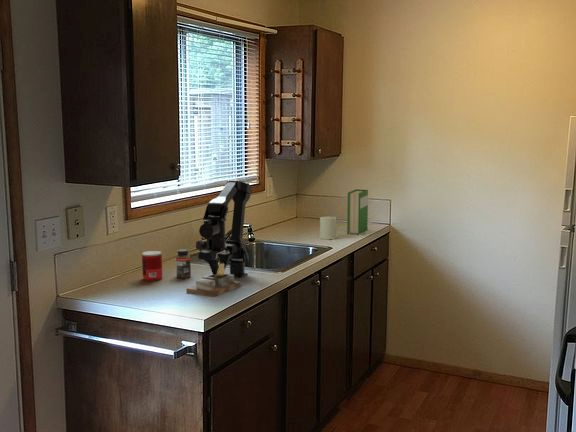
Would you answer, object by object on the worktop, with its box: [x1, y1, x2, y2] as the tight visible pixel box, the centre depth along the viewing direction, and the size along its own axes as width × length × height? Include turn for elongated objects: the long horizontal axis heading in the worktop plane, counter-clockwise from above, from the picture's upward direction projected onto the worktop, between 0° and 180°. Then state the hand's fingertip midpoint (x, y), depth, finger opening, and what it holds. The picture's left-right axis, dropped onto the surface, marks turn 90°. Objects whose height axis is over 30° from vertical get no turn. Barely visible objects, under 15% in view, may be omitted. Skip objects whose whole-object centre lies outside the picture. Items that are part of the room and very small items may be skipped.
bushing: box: [213, 261, 225, 278], centre depth 248 cm, size 4×4×8 cm
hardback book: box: [346, 188, 369, 235], centre depth 367 cm, size 18×7×24 cm, turn 159°
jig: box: [185, 272, 242, 298], centre depth 245 cm, size 18×13×4 cm
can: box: [319, 215, 337, 240], centre depth 349 cm, size 9×9×12 cm
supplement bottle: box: [175, 248, 192, 279], centre depth 264 cm, size 6×6×11 cm
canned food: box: [141, 250, 163, 282], centre depth 261 cm, size 8×8×11 cm
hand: (218, 273), depth 248 cm, fingers open, 5 cm apart
